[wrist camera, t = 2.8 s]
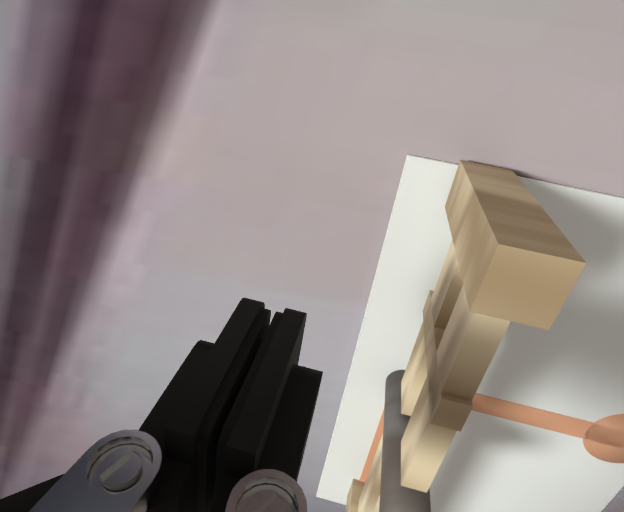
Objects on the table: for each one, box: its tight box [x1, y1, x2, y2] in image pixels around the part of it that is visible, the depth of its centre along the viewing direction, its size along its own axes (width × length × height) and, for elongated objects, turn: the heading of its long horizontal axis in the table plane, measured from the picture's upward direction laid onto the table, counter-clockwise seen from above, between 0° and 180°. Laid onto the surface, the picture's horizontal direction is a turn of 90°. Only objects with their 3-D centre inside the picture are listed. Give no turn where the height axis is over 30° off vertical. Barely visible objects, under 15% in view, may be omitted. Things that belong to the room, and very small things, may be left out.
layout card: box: [316, 154, 624, 512], centre depth 22 cm, size 24×16×1 cm
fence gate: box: [401, 160, 586, 493], centre depth 16 cm, size 11×2×8 cm, turn 172°
